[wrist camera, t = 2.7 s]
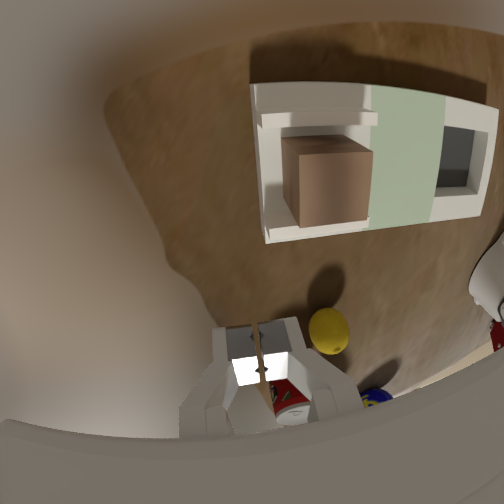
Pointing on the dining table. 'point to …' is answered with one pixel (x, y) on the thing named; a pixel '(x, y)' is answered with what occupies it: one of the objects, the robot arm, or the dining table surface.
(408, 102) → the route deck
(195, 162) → the dining table surface
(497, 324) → the alarm clock
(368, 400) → the ornament
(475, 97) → the dining table surface
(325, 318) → the lemon
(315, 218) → the walnut block
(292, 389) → the canned food
